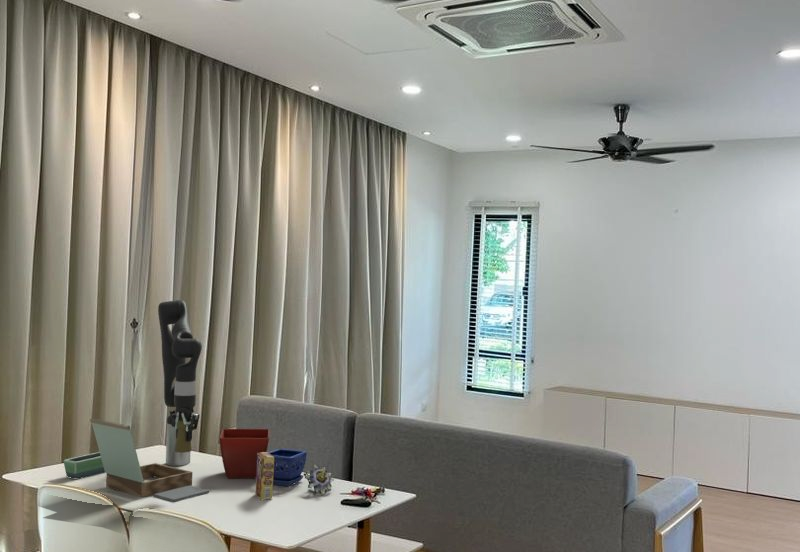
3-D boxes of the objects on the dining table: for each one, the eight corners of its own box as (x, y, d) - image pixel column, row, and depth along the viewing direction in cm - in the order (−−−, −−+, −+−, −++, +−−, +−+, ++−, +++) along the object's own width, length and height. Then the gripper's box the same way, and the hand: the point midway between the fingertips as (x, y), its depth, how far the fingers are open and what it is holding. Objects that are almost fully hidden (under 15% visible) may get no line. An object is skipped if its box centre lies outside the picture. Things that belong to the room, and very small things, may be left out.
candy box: (273, 499, 275) (274, 456, 275) (261, 500, 273) (263, 457, 273) (266, 493, 283) (267, 451, 283) (255, 494, 281) (256, 452, 281)
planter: (117, 464, 321) (118, 447, 321) (130, 467, 318) (130, 449, 318) (61, 478, 296) (62, 459, 296) (74, 481, 293) (75, 462, 293)
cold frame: (154, 475, 303) (155, 463, 303) (192, 485, 291) (192, 471, 291) (106, 486, 285) (106, 473, 285) (143, 497, 273) (143, 483, 273)
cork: (176, 448, 281) (177, 418, 281) (193, 448, 281) (194, 419, 281) (172, 452, 275) (174, 421, 275) (190, 452, 275) (191, 422, 275)
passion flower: (321, 508, 283) (311, 486, 277) (303, 497, 291) (292, 475, 285) (342, 487, 290) (333, 465, 283) (323, 477, 297) (314, 455, 291)
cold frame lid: (92, 418, 280) (89, 419, 279) (129, 425, 268) (127, 426, 267) (106, 472, 285) (104, 473, 284) (143, 481, 273) (141, 483, 272)
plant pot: (267, 480, 301) (268, 437, 301) (218, 481, 298) (219, 437, 298) (268, 469, 320) (269, 428, 320) (221, 469, 317) (222, 428, 317)
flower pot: (260, 484, 294) (261, 453, 294) (278, 477, 307) (279, 447, 307) (290, 489, 289) (291, 457, 289) (307, 481, 302) (308, 451, 302)
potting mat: (189, 487, 287) (189, 485, 287) (209, 492, 281) (209, 490, 281) (153, 496, 274) (154, 494, 274) (174, 501, 268) (174, 499, 268)
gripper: (206, 394, 277) (205, 441, 277) (180, 390, 285) (179, 436, 285) (190, 396, 271) (188, 444, 271) (164, 392, 279) (162, 439, 279)
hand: (183, 440), depth 278 cm, fingers closed on cork, 4 cm apart
